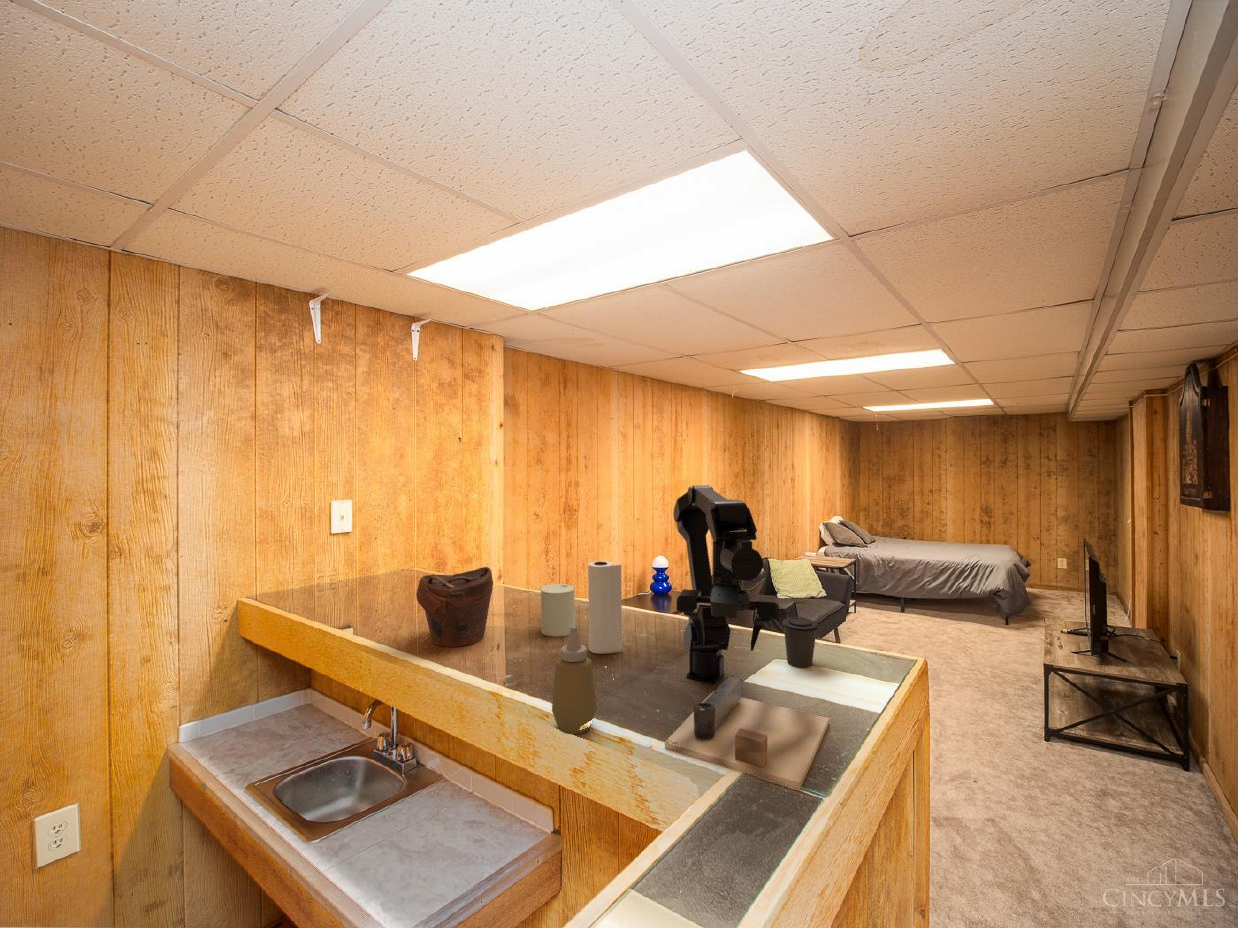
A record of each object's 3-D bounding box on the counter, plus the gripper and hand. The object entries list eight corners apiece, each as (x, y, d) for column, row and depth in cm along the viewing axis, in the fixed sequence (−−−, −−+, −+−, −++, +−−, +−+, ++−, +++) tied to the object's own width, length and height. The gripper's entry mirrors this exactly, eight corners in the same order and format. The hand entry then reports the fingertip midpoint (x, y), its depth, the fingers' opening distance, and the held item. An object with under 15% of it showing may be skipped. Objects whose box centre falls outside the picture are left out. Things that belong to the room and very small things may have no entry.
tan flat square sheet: (664, 748, 94) (664, 742, 94) (713, 695, 113) (713, 690, 113) (799, 789, 83) (799, 783, 83) (828, 723, 102) (829, 718, 102)
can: (582, 628, 153) (581, 584, 152) (561, 639, 145) (560, 593, 145) (555, 622, 158) (555, 580, 157) (533, 632, 150) (533, 588, 150)
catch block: (735, 759, 89) (735, 734, 89) (740, 752, 91) (740, 728, 91) (762, 768, 87) (762, 742, 86) (767, 760, 89) (767, 735, 89)
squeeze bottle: (602, 734, 98) (601, 633, 98) (556, 742, 96) (554, 638, 95) (591, 713, 106) (590, 618, 105) (548, 719, 104) (547, 623, 103)
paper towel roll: (583, 649, 138) (583, 562, 137) (603, 643, 142) (602, 559, 141) (602, 658, 132) (601, 567, 131) (622, 651, 136) (621, 564, 135)
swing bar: (710, 741, 93) (710, 715, 93) (690, 735, 95) (690, 710, 95) (743, 700, 108) (743, 677, 108) (725, 695, 110) (725, 673, 109)
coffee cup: (773, 660, 131) (773, 617, 130) (799, 654, 134) (800, 612, 134) (799, 673, 123) (800, 628, 123) (826, 666, 127) (826, 622, 127)
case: (400, 643, 143) (400, 573, 142) (463, 622, 159) (462, 559, 158) (448, 659, 133) (447, 584, 132) (508, 635, 149) (509, 568, 148)
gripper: (671, 574, 102) (671, 659, 103) (779, 581, 97) (778, 670, 98) (681, 560, 112) (681, 637, 113) (778, 566, 107) (777, 646, 108)
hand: (727, 647), depth 108 cm, fingers open, 9 cm apart
